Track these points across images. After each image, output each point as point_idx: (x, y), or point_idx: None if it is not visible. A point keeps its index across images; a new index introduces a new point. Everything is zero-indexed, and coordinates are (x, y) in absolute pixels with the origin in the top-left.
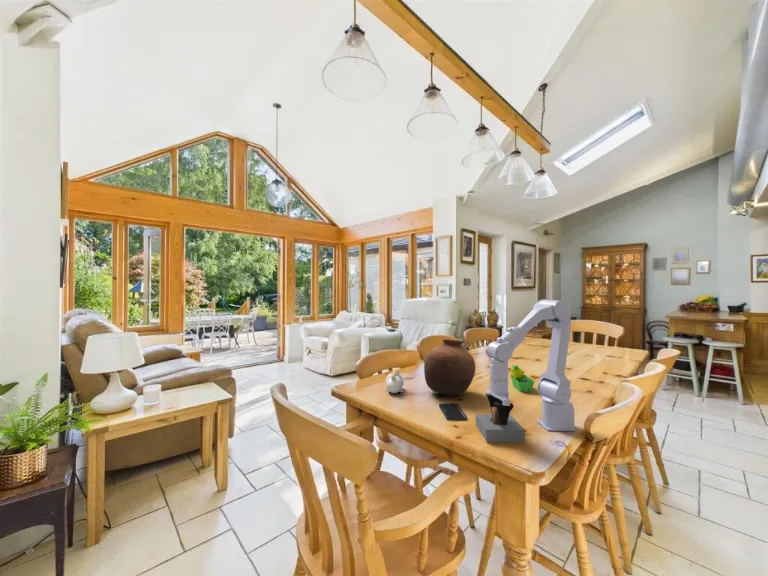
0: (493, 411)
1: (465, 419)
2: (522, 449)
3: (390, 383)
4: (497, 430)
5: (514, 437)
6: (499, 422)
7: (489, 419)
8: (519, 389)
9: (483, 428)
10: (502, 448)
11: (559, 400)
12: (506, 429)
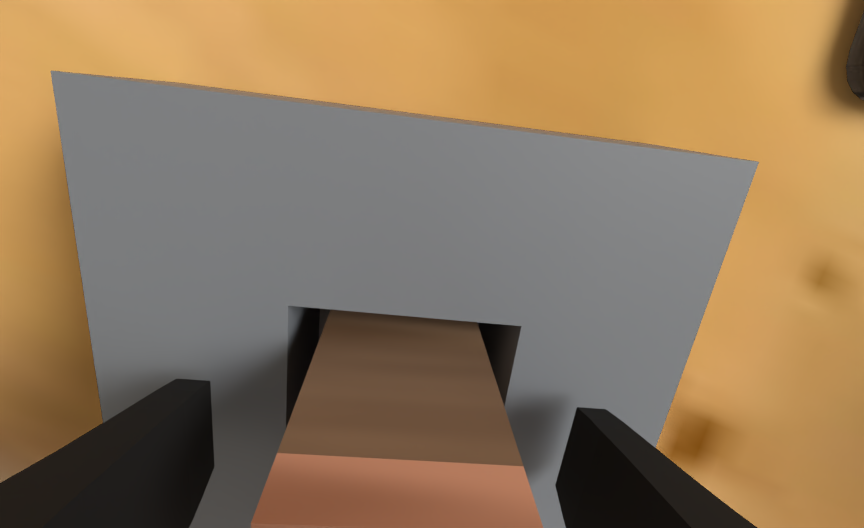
0: (380, 469)
1: (858, 63)
2: (53, 401)
3: None
4: (88, 274)
5: None
6: (153, 394)
7: (497, 311)
8: None
9: (252, 95)
10: (40, 219)
11: None
12: (106, 410)
